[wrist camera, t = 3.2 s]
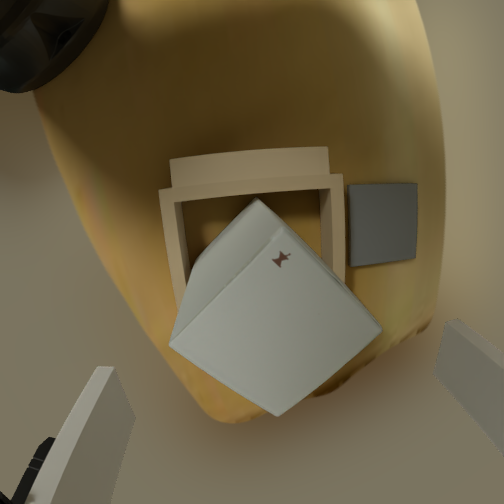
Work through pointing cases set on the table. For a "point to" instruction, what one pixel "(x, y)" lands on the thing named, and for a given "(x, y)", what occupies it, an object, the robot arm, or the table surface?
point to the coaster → (381, 222)
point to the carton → (250, 182)
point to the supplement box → (268, 313)
